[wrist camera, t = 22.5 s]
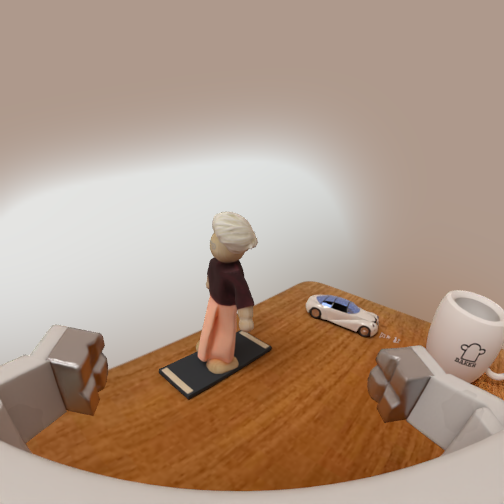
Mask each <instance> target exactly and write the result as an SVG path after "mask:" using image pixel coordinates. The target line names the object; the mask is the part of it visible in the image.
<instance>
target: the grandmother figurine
mask: <svg viewBox="0 0 504 504" xmlns="http://www.w3.org/2000/svg"><path fill="white" fill-rule="evenodd" d="M212 227H213V230H214V234H213V235H212V237H211V240H210V250H211V252H212V254H213V256H214V257H215V258H213V259H211V260H210V263H209V268H208V272H207V275H208V276H207V283H206V286H207V288H208V289H209V292H210V298H209V301H208V306H207V311H206V315H205V320H204V324H203V329H202V333H201V338H200V341H199V342H198V343H197V345H196V350H197V352H198V358H199V359H200V360H201V361H203V362H205V361H207V360H208V361H207V363H206V366H207V368H208V369H209V371H211V372H212V373H215V374H223V373H226V372H228V371H230V370H233V369H235V368H237V367H238V365H239V364H238V360H237V359H236V357H234V350H235V337H236V328H237V322H236V314H237V311H238V316H239V318H240V321H239V328H240V330H241V331H243V332H250V331H251V330H252V329H253V327H254V323H253V320H252V317H253V306H254V301H253V298H252V296H251V293H250V290H249V287H248V285H247V282H246V280H245V278H244V272H243V269H242V266H241V263H240V261H239V259H240V258H241V257H242V256H243V254H244V253H245V251H247V250H248V249H252V248H254V247H256V245H257V243H258V242H257V238H256V236H255V233H254V232H253V230H252V227H251V225H250V224H249V222H248V221H247V220H246V219H245V218H244V217H242V216H241V215H239V214H236V213H233V212H221V213H219V214H216V215H215V216H214V218H213V224H212Z"/></svg>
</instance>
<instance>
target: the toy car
mask: <svg viewBox="0 0 504 504" xmlns="http://www.w3.org/2000/svg"><path fill="white" fill-rule="evenodd" d="M306 309H307V311H308V313H309V312H310V314H311V316H312V317H313V318H319V317H320V316H321V318H322V319H325V320H329V321H331V322H333V323H336V324H338V325H340V326H343V327H345V328H348V329H351V330H353V331H356V332H357V330H358V329H359V334H360V335H361V336H363V337H367V336H369V334H370V333H371V335H370V336H373V335H374V334H376V332H377V331H378V327H379V320H378V316H377V315H376V314H374V313H372V312H367V311H365V310H363V309H361V308H359V307H358V306H357V305H355V304H354V302H351V301H349V300H346V299H344V298H340V297H337V296H332V295H313V296H311V297H310V298H309V299H308V301H307V303H306ZM376 321H377V325H378V326H377V325H376V324H375V323H376ZM381 335H382V334H381ZM383 335H384V334H383ZM385 335H386V334H385ZM384 337H385V336H384ZM388 337H389V335H388ZM394 340H396V337H395V339H394ZM398 340H399V339H398ZM399 341H400V340H399ZM394 342H395V341H394ZM396 343H397V342H396Z"/></svg>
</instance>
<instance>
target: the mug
mask: <svg viewBox="0 0 504 504" xmlns="http://www.w3.org/2000/svg"><path fill="white" fill-rule="evenodd" d="M503 343H504V310H503V309H502V308H501V307H500V306H499V305H497V304H496V303H494V302H493V301H491V300H490V299H488V298H486V297H484V296H481V295H479V294H476V293H473V292H469V291H462V290H455V291H450V292H449V293H448V294H447V295H446V296H445V297H444V298H443V299H442V301H441V303H440V305H439V306H438V309H437V311H436V313H435V316H434V318H433V320H432V323H431V326H430V330H429V333H428V338H427V346H426V350H427V351H428V353H429V354H430V355H431V356H432V357H433V358H434V360H435V361H436V362H437V363H438V364H439V365H440V367H441V368H442V369H443V370H444V371H445V373H446V374H449V373H450V374H452V375H454V376H456V377H458V378H460V379H462V380H464V381H466V382H468V383H472V382H474V381H475V380H476V379H478V378H479V377H480V376H481V375H482V374H483V373H484V372H485V373H486V375H487V376H488V377H490V378H491V379H494V380H504V373H503V374H496V373H494V372H492V371H491V370H490V368H489V367H490V365H491V364H492V363H493V361H494V360H495V358H496V357H497V355H498V353H499V352H500V350H501V348H502V346H503Z"/></svg>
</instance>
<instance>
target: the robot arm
mask: <svg viewBox="0 0 504 504" xmlns="http://www.w3.org/2000/svg"><path fill="white" fill-rule="evenodd" d="M104 346H105V345H104V340H103V336H102V335H101V334H100V333H96V332H91V331H86V330H81V329H76V328H71V327H70V328H69V327H66V326H61V325H53V326H52V327H51V328H50V329H49V331H48V332H47V333H46V334H45V336H44V337H43V338H42V340H41V341H40V342H39V344H38V345H37V346H36V348H35V349H34V350H33V352H32V353H31V354H30V356H28V355H23V356H21V357H19V358H17V359H14V360H12V361H10V362H7V363H5V364H3V365H1V366H0V504H504V401H503V400H502V399H501V398H499V397H497V396H495V395H493V394H491V393H488V392H486V391H484V390H482V389H480V388H478V387H476V386H474V385H472V384H470V383H468V382H466V381H464V380H462V379H460V378H458V377H456V376H454V375H452V374H450V373H449V374H446V373H445V371H444V370H443V369H442V368H441V367H440V365H439V364H438V363H437V362H436V361H435V360H434V358H433V357H432V356H431V355H430V354H429V353H428V351H427V350H426V349H425V348H424V347H422V346H420V345H419V346H410V347H405V348H391V349H381V351H380V352H379V353H378V355H377V357H376V362H377V366H376V367H374V368H373V369H372V370H371V372H370V374H369V377H368V385H367V387H368V392H369V394H370V396H371V398H372V399H373V400H375V401H376V402H378V405H377V410H378V412H379V414H380V416H381V417H382V419H383V421H384V423H387V422H393V421H399V420H405V419H407V420H406V421H407V422H409V423H410V424H411V425H413V426H414V427H415V428H416V429H418V430H419V431H420V432H422V433H423V434H424V435H425V436H427V437H428V438H429V439H431V440H432V441H433V442H434V443H436V444H437V445H438V446H440V447H441V448H442V449H444V450H445V452H444V453H443V454H442V455H441V456H440V457H438V458H435V459H432V460H430V461H427V462H423V463H420V464H417V465H414V466H411V467H407V468H404V469H400V470H397V471H393V472H389V473H385V474H381V475H377V476H372V477H368V478H363V479H358V480H353V481H348V482H342V483H336V484H330V485H323V486H315V487H307V488H297V489H285V490H269V491H210V490H194V489H182V488H172V487H164V486H157V485H150V484H143V483H137V482H132V481H126V480H121V479H117V478H112V477H107V476H103V475H99V474H95V473H91V472H87V471H84V470H80V469H76V468H73V467H70V466H66V465H63V464H60V463H57V462H54V461H51V460H48V459H45V458H43V457H40V456H37V455H34V454H32V453H31V451H30V450H29V448H28V446H27V445H26V443H27V442H28V441H29V440H31V439H32V438H33V437H34V436H36V435H37V434H38V433H40V432H41V431H42V430H44V429H45V428H46V427H47V426H49V425H50V424H51V423H53V422H54V421H55V420H57V419H58V418H59V417H60V416H62V415H63V414H64V413H66V412H67V411H66V410H68V411H72V412H77V413H81V414H86V415H91V416H94V413H95V411H96V408H97V406H98V403H99V400H100V398H99V394H98V392H99V391H101V390H103V389H104V387H105V385H106V382H107V376H108V363H107V358H106V357H105V356H104V354H103V353H102V350H103V348H104Z"/></svg>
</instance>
